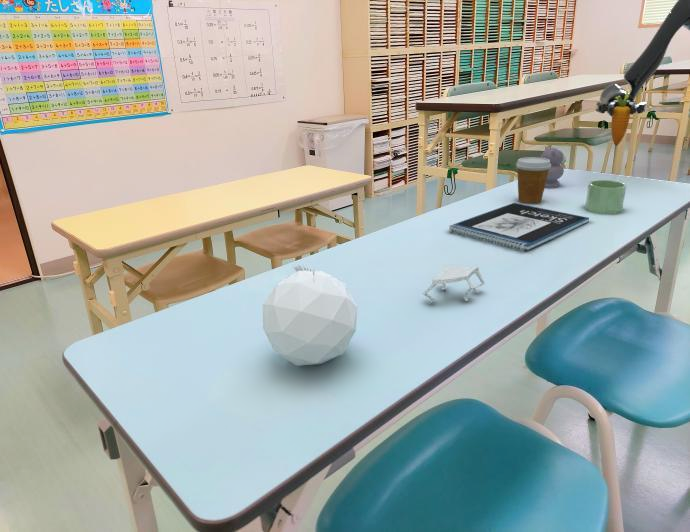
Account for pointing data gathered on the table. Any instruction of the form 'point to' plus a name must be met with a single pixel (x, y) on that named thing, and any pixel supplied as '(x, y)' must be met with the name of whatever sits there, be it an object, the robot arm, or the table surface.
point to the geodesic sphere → (309, 317)
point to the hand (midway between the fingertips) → (622, 110)
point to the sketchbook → (519, 226)
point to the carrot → (620, 120)
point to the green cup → (605, 196)
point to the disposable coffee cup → (532, 178)
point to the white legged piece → (455, 278)
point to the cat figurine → (553, 166)
